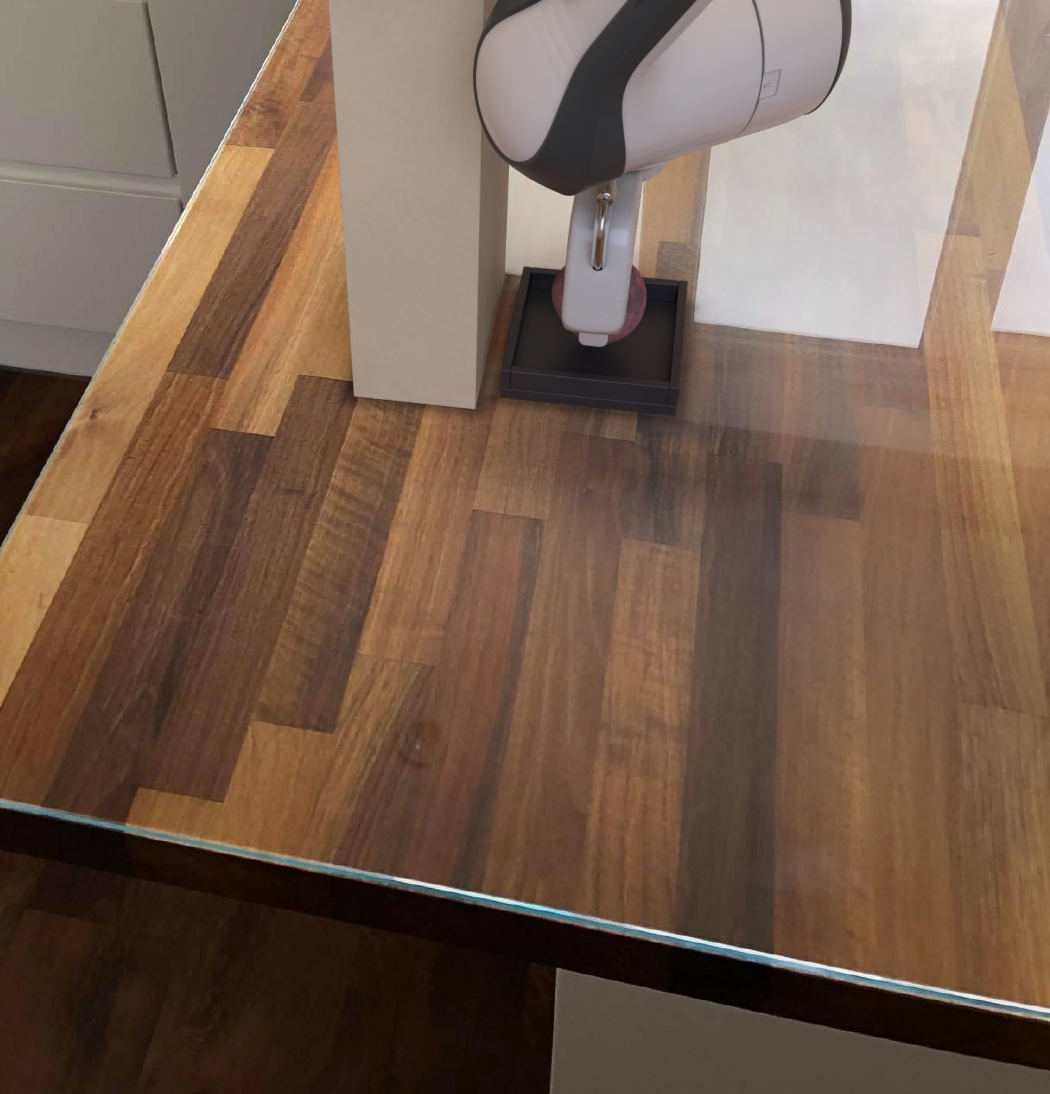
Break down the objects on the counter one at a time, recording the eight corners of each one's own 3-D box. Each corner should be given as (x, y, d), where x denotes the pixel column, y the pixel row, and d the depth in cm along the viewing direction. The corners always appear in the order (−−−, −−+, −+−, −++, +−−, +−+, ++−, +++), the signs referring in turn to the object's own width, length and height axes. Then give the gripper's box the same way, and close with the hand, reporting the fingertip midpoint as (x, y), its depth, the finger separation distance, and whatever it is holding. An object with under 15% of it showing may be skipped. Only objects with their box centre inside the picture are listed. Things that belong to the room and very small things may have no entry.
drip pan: (683, 307, 95) (688, 280, 93) (674, 416, 87) (679, 388, 86) (521, 292, 97) (523, 265, 95) (499, 397, 89) (501, 370, 88)
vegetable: (584, 302, 94) (595, 175, 87) (660, 338, 91) (678, 210, 84) (530, 346, 91) (537, 218, 84) (606, 385, 88) (621, 256, 81)
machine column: (512, 275, 98) (532, -172, 76) (481, 415, 88) (494, -51, 66) (388, 263, 99) (372, -178, 77) (344, 400, 89) (311, -61, 67)
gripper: (664, 212, 71) (637, 412, 81) (683, 23, 85) (658, 215, 95) (542, 202, 72) (530, 400, 82) (581, 17, 86) (566, 207, 96)
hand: (599, 300), depth 89 cm, fingers open, 7 cm apart
